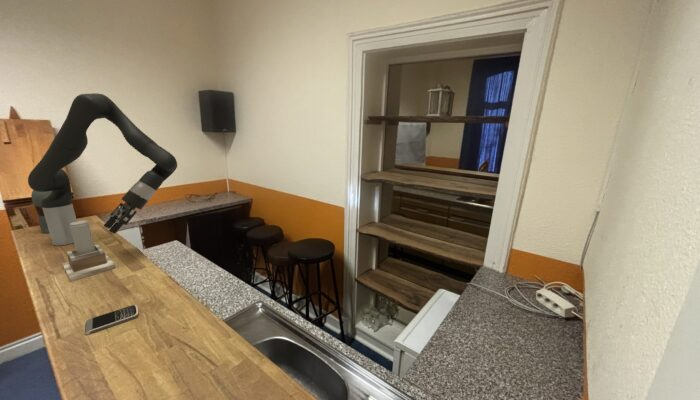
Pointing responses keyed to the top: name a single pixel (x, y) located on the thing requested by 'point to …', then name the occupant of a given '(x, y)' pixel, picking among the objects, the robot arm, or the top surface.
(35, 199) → the bottle
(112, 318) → the cell phone
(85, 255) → the pedestal base
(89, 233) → the beverage can
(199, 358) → the top surface
